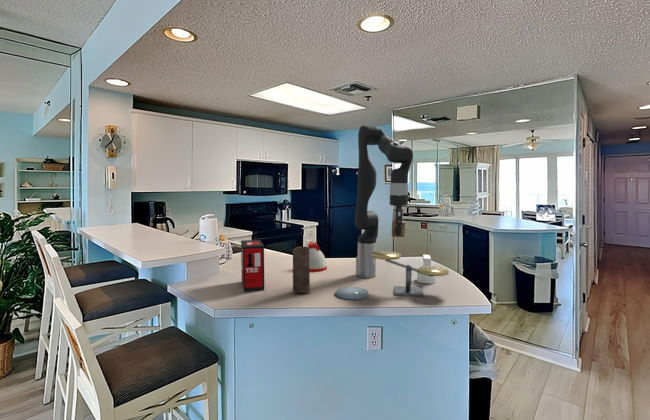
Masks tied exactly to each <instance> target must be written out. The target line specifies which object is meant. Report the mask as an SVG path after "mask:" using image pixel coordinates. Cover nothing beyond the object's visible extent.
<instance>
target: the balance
mask: <svg viewBox="0 0 650 420" xmlns="http://www.w3.org/2000/svg"><path fill="white" fill-rule="evenodd" d="M371 257H373V258H376V260H384V261H385V262H387V263H389V264H393V265H396V266H398V267H401V268H404V269H405V286H404V285H403V286H400V285H399V286H398V285H394V286H393V293H394V296H399V297H400V296H403V297H421V298H424V297H425V295H424V291H423V289H422V287H419V286H412V275H413V274H412V272H416V273H417V272H418V273H420V274H423V275H428V276H431V277H432V276H436V277H444V276H448V275H449V271H450V270H449V269H447V268H444V267H441V266H434V265H431V266H423V265H422V266H418V267H416V268H415V267H413V266H411V264H405V263H401V262H398V261H395V260H399V259H401V257H402V254H401V253H399V252H395V251H390V250H389V251H386V250H383V251H382V250H381V251H378V250H376V252H372V253H371Z"/></svg>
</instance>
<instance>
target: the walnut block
mask: <svg viewBox="0 0 650 420" xmlns="http://www.w3.org/2000/svg"><path fill="white" fill-rule="evenodd" d="M397 222H400V221H397ZM405 224H406V223H405V221H404V220H402V225H401V235H396V234H395V230H396V226H395V221H394V220H391V237H394V238H395V237H396V238H405V228H406V227H405Z"/></svg>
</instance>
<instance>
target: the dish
mask: <svg viewBox="0 0 650 420" xmlns="http://www.w3.org/2000/svg"><path fill="white" fill-rule="evenodd" d="M335 296H336V297H337V298H339V299H343V300H348V301H349V300H352V301H357V300H363V299H367V298H368V297H369V290H368V289H366V288H362V287H358V286H344V287H343V286H342V287H339V288H337V289H336V290H335Z"/></svg>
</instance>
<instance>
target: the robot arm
mask: <svg viewBox="0 0 650 420" xmlns="http://www.w3.org/2000/svg"><path fill="white" fill-rule="evenodd" d="M357 139H358V140H357V142H358V143H357V144H358V169H357V191H356V194H357V195H356V196H357V197H356V204H355V205H356V206H355V212H354V223H355V224H354V225H355V226H356V228H357V229H358V230H360V231H362V230H363V232H362V233H361V234H360V235H358V238H357V256H356V257H355V275H356V276H358V277H360V278H365V279H366V278H368V279H369V278H374V277H376V273H377V271H376V270H377V269H376V268H377V267H376V265H377V264H376V263H377V262H376V261H377V259H376V258H373V257H371V253H372V252H377V238H378V234H379V215H378V214H377V212H376V211H373V210H368V207H369V201H370V198H371V196H372V195H373V193H374V191H375V189H376V186H377V174H378V173H377V170H376V168H375V166H374V164H373V162H372V160H371V158H370V156H369V152H368V146H378V149H379V151H380V152H381V153H382V154H384V155H385V157H386V158H387V160H388V162H390V163H394V164H400V165H399V167H398V168H397V167H396V168H393V169H392V170H391V171H390V185H389V186H390V187H389V205H390V206H395V208H394V209H393V221H395V226H396V230H395V234H396V235H401V225H402V221H404V209H403V207H404V206H405V207H406V206H408V204H409V183H408V182H409V172H410V169H411V165H412V161H413V159H414V152H413V149H412V147H410V146H408V145H399V144H400V143H398V142H397V141H395V140H394V139H392V138H390V137H389V136H388V135H387V133H385V132H384V131H383V129H381V128H380V127H379V126H375V125H361V126H360V127H359V129H358V134H357ZM397 221H400V222H397Z"/></svg>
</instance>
